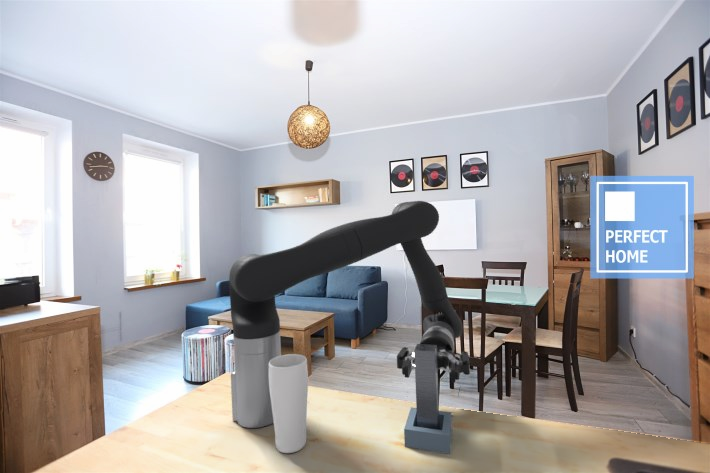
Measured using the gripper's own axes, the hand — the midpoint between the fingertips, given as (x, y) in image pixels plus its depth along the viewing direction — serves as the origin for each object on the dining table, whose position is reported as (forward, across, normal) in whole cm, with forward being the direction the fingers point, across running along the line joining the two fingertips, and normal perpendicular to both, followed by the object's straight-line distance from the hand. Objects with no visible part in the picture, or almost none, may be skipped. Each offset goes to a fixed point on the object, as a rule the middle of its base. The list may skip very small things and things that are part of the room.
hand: (429, 374), depth 63 cm
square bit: (+3, 0, +10) cm, 10 cm away
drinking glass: (+11, -23, +10) cm, 28 cm away
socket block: (+3, 0, +10) cm, 10 cm away
